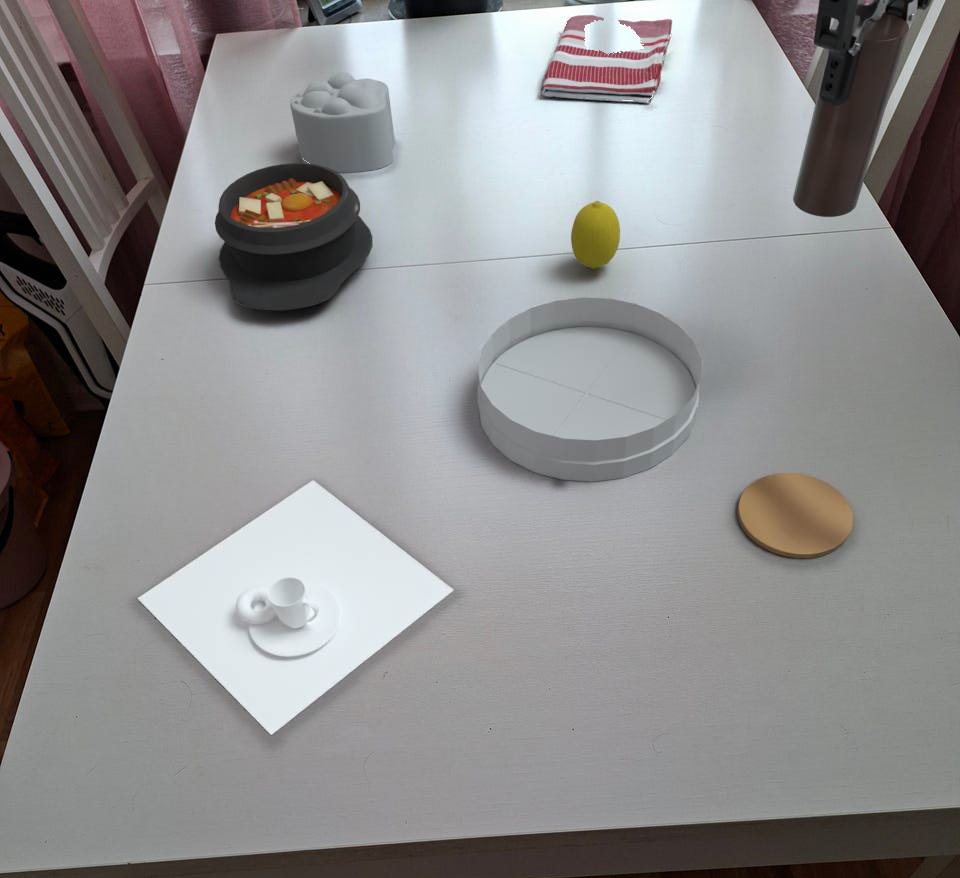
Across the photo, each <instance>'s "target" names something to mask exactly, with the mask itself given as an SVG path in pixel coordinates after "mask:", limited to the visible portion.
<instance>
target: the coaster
mask: <svg viewBox="0 0 960 878" xmlns="http://www.w3.org/2000/svg"><path fill="white" fill-rule="evenodd" d="M737 519H738V522H739V524H740V526H741V529H742V530H743V532H744V533H745V535H746V536H747V537H748V538H750V540H752V542H754V543H755V544H756V545H758V546H759V547H761V548H763V549H764V550H766V551H768V552H771V553H773V554H776V555H779V556H783V557H786V558H793V559H812V558H818V557H822V556H825V555H829V554H830V553H833V552H834V551H836V550H838V549H839V548H840V547H841V546H842V545H844V543H846V542H847V540H848V538H849V536H850V534H851V532H852V529H853V527H854V526H853V525H854V513H853V510H852V506H851V505H850V503H849V501H848V500H847V498H846V497H845V496H844V494H842V493H841V491H839V490H838V489H837V488H835V486H833V485H831V484H830V483H828V482H826V481H825V480H822V479H820V478H817V477H815V476H811V475H808V474H803V473H796V472H779V473H772V474H768V475H765V476H763V477H760V478H757V479H756V480H754V481H752V483H750V484H749V485H748V486H747V487H746V488H745V489H744V491H742V493H741V495H740V498H739V501H738V504H737Z"/></svg>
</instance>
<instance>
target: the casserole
mask: <svg viewBox="0 0 960 878" xmlns="http://www.w3.org/2000/svg"><path fill="white" fill-rule="evenodd" d="M360 211H361V202H360V198H359V196H358V194H357V193H356V192H355V191H354V189H352V188H351V187H350V186H349V184H348V182H347V180H346V179H345V178H344V177H343V175H341V173H337V172H336V171H334V170H332V169H330V168H327V167H324V166H320V165H316V164H308V163H304V162H290V163H280V164H274V165H270V166H266V167H262V168H259V169H256V170H253V171H251V172H249V173H246V174H245V175H243V176H241V177H239V178H237V179H236V180H234V181H233V182H232V183H231V184H229V185H228V186H227V187H226V188H225V189H224V190H223V192H222V194H221V195H220V198H219V201H218V212H217V213H216V215H215V220H214V227H215V231H216V233H217V235H218V236H219V238H220V239H221V240H223V244H222V245H221V248H220V250H219V254H218V262H219V267H220V269H221V271H222V273H223V274H224V276H225V278H226V279H227V281H228V283H229V287H230V291H231V295H232V300H234V301H235V302H236V303H238V304H239V305H241V306H244V307H247V308H249V309H254V310H255V309H256V310H260V311H261V310H262V311H288V310H289V311H290V310H297V309H302V308H303V309H304V308H307V307H308V308H309V307H312V306H315V305H318V304H321V303H324V302H325V301H327V300H329V299H330V298H332V297H333V296H334V295H335V294H336V293H337V292H338V290H339V288H340V287H341V286H342V284H343V283H344V282H345V281H346V279H347V278H348V277H349V276H351V275H352V274H353V273H354V272H355V271H356V270H357V269H358V268H359V267H360V266H362V265H363V264H364V263H365V261H366V260H367V258H368V257H369V255H370V253H371V251H372V248H373V235H372V231H371V229H370V228H369V226H368V225H367V224H366V223H365V222H364V220H363V219H362V218H361V217H360V216H359V214H360Z"/></svg>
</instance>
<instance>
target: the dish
mask: <svg viewBox="0 0 960 878" xmlns="http://www.w3.org/2000/svg"><path fill="white" fill-rule="evenodd" d="M477 378H478V383H477V384H478V385H477V388H476V395H477V404H478V412H479V419H480V424H481V428H482V430H483V431H484V433H485V435H486V436H487V438H488V440H489V441H490V443H491V444H492V446H493V447H494V448H496V449H497V450H498V451H499V452H500V453H501V454H502V455H503V456H505V457H506V458H507V459H508V460H509V461H511V462H513V463H515V464H516V465H518V466H521V467H523V468H525V469H526V470H529V471H530V472H533V473H535V474H539V475H542V476H547V477H550V478H554V479H558V480H561V481H574V482H575V481H576V482H592V483H593V482H601V481H610V480H617V479H624V478H627V477H630V476H633V475H635V474H638V473H642V472H645V471H647V470H650V469H652V468H654V467H656V466H657V465H658V464H660V463H662V462H663V461H665V460H666V459H668V458H669V457H671V456H673V455H674V454H675V452H676V451H677V450H679V448H680V447H681V446H682V445H683V444H684V443H685V442H686V441H687V440H688V438H689V435H690V433H691V431H692V428H693V425H694V423H695V421H696V417H697V411H698V407H699V403H700V384H701V382H702V381H701V380H702V359H701V356H700V354H699V352H698V349H697V346H696V345H695V342H694V341H693V339H692V338H691V337H690V336H689V334H688V333H686V332H685V330H684V329H682V328H681V326H680V325H678V324H677V323H676V322H674V321H673V320H671V319H670V318H668V317H666V316H664V315H663V314H662V313H660V312H658V311H656V310H653V309H650V308H648V307H645V306H643V305H640V304H637V303H635V302H629V301H623V300H618V299H613V298H603V297H577V298H567V299H560V300H554V301H553V300H552V301H550V302H548V303H547V302H546V303H544V304H540V305H536V306H533V307H530V308H528V309H526V310H525V311H522V312H520V313H518V314H516V315H515V316H512V317H511V318H509V319H507V320H506V321H505V322H504V323H502V325H500V326H499V327H498V328H497V329H496V330H494V331H493V332H492V333H491V335H490V336H489V337H488V339H487V341H486V343H484V345H483V347H482V348H481V350H480V355H479V360H478V364H477Z"/></svg>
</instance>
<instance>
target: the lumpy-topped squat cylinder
mask: <svg viewBox="0 0 960 878" xmlns="http://www.w3.org/2000/svg"><path fill="white" fill-rule="evenodd" d="M389 92H390V90H389V86H388V85H387V84H386V83H385V82H383V81H380V80H376V79H373V78H360V79H359V78H358V79H355V78H354V76H353V75H352V74H350V73H348V72H345V71H340V72H337V73H335V74H334V75H332V76H331V77H329V79H328V80H327V81H325V80H315V81H313V82H310V83H309V85H307V87H306V88H305V89H304V90H301V91H300V92H298V93H297V94H295V95H294V96H293V97H292V98H291V99H290V104H289V107H290V111H291V115H292V121H293V125H294V130H295V135H296V139H297V144H298V149H299V153H300V158H301V161H302V163H307V162H309V163H310V164H316V165H320V166H324V167H327V168H330V169H332V170H334V171H336V172H337V173H339V174H341V173H343V174H344V173H359V172H367V171H368V172H369V171H376V170H380V169H382V168H385V167H388V166H389V165H391V164H392V162H394V152H393V150H394V148H395V144H396V141H395V140H396V139H395V138H396V137H395V130H394V122H393V116H392V106H391V99H390V98H391V97H390V93H389ZM301 156H302V157H301ZM302 158H304V160H306V161H307V162H306V161H304V160H303V159H302ZM309 163H308V164H309Z"/></svg>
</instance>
